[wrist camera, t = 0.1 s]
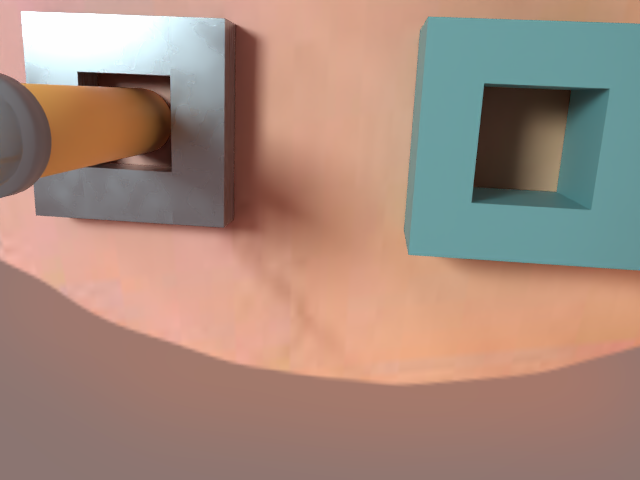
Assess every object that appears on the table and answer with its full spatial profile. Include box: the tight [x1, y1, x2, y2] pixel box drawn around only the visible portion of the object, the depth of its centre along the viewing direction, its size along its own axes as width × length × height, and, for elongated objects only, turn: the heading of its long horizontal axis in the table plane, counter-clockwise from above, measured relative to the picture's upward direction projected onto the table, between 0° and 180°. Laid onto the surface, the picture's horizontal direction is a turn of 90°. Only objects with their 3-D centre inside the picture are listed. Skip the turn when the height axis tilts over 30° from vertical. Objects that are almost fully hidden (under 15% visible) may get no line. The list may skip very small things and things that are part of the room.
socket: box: [404, 17, 640, 270], centre depth 32 cm, size 12×12×6 cm
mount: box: [21, 12, 235, 228], centre depth 36 cm, size 12×12×2 cm
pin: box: [0, 73, 171, 198], centre depth 29 cm, size 5×5×16 cm
